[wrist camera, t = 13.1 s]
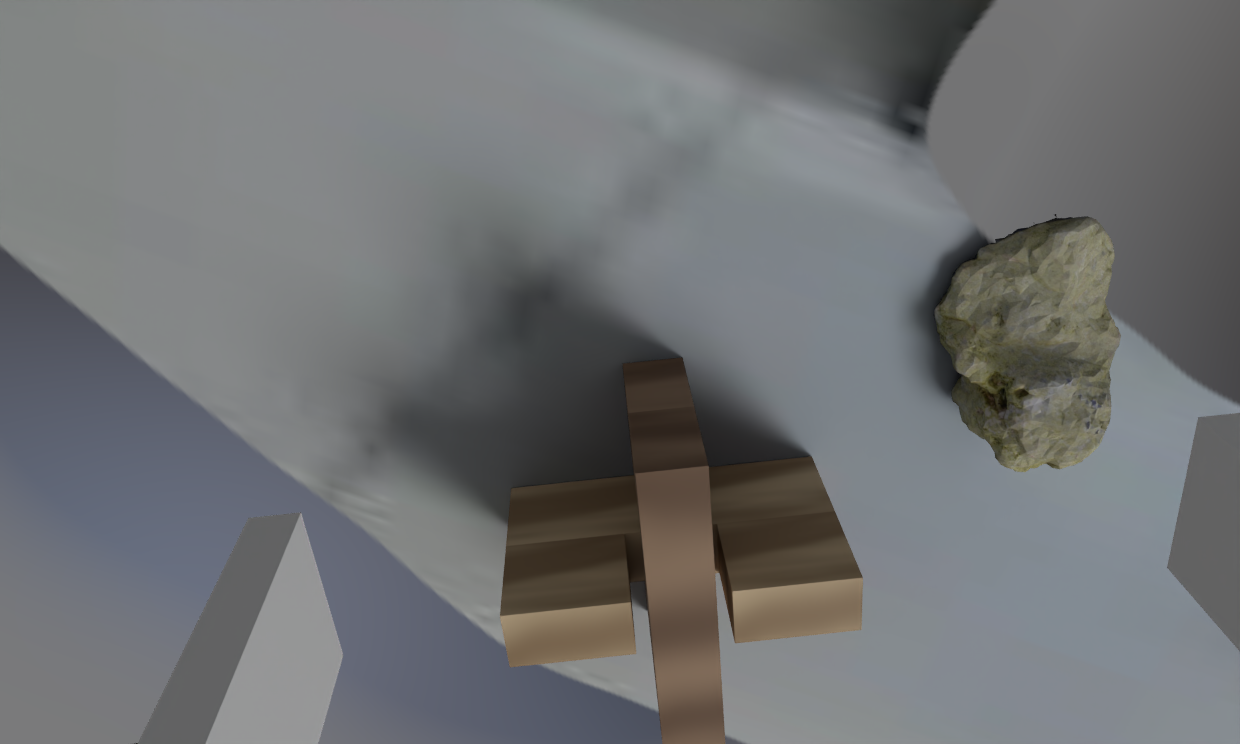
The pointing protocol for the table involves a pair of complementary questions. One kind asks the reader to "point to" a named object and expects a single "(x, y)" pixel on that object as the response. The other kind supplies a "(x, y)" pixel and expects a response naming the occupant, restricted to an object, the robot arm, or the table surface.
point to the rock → (1034, 342)
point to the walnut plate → (676, 550)
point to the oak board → (612, 558)
